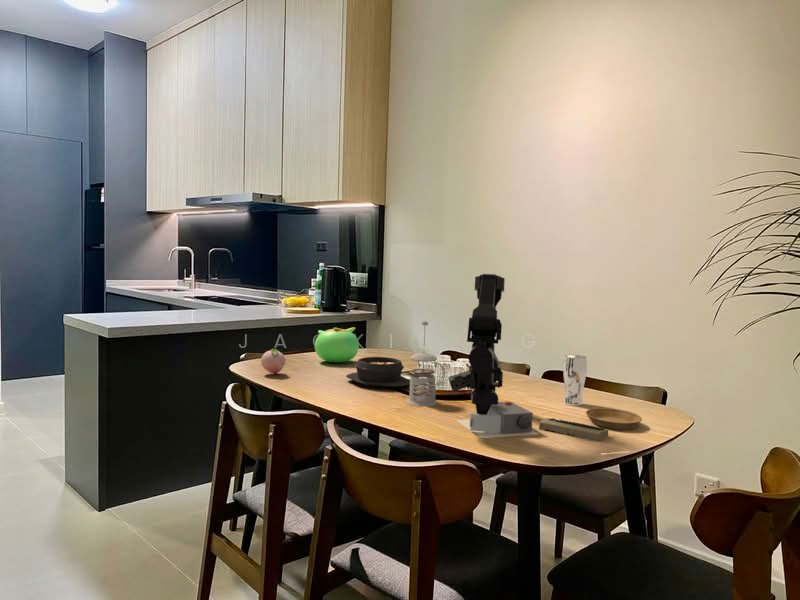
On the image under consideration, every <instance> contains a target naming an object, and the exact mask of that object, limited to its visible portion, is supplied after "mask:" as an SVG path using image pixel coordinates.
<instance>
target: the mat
mask: <svg viewBox="0 0 800 600" xmlns="http://www.w3.org/2000/svg"><path fill="white" fill-rule="evenodd" d="M470 419H471V418H470ZM470 419H457V420H456V422H458V423H459V424H461V425H462V426H464V427H465V428H467V429H468V430H469V431H470ZM471 432H472V433H474V434H476V436H478V437H479V438H481V439H489V438H502V437H504V438H505V437H516V436H519V437H521V436H532V435H534V436H535V435H539V433H538V432H537V431H534V430H533V429H532V432H524V433H509V434H503V433H496V432H483V431H471Z"/></svg>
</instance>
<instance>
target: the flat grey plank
mask: <svg viewBox="0 0 800 600" xmlns="http://www.w3.org/2000/svg"><path fill="white" fill-rule="evenodd" d="M538 430H540V431H549V432H554V433H555V434H559V435H564V436H570V437H575V438H580V439H585V440H588V441H593V442H598V443H599V442H601V441H602V440H604V439H607V438H608V436H609V429H608V428H605V427H601V426H594V425H590V424H584V423H579V422H575V421H573V422H572V421H568V420H564V419H563V420H562V419H556V418H554V417H553V418H549V417H548V418H544V419H541V420H540V421H539V427H538ZM606 437H607V438H606Z"/></svg>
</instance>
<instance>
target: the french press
mask: <svg viewBox="0 0 800 600" xmlns="http://www.w3.org/2000/svg"><path fill="white" fill-rule="evenodd" d="M421 325H422V326H429V323H428V321H427V320H424V321H422V322H421ZM423 333H424V334H423V335H424V337H423V346H425V345H426V344H425V343H426V341H425V339H426V328H424V332H423ZM410 360H411V361H415V362H420V363H422V368H413V369H412V370H411V371H410V372H411V373H412V374H410V375H409V377H410V378H409V379H410V384H409V398H407V400H405V401H406V403H407V404H408V405H411V406H416V407H432V406H433V407H434V406H437V405H438V404H439V403H438V401H437V400H436V390H437V387H439V386H441V385H442V383H443V382H444V380H445V377H446V371H445V368H444V366H443V365H442V364H441V363H439V362H437V357H436V356H435V355H433V354H431V353H428V352H425V351H422V352H417V353H415V354H412V355H411V356H410ZM427 362H428V363H429V362H430V363H431V362H434V368H437V365H438V366H440V368H441V371H442V374H441V375H442V376H441V377H440V380H439V381H438V382H437V383H436V377H437V376H436V375H434V374H436V373H435V370H434V369H429V368H425V366H424V365H425V363H427ZM423 377H424V378H423Z"/></svg>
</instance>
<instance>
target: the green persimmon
mask: <svg viewBox="0 0 800 600" xmlns="http://www.w3.org/2000/svg"><path fill="white" fill-rule="evenodd" d="M355 330H356V327H354V326H353V327H350V328H347V329H344V328H338V327H333V328H330V329H326V330H320V329H319V330H318V331H317V332H318V334H319V335H318V336H317V337H316V338H315V342H314V350H315V352H316V355H317V356H318V357H319V358H320V359H321V360H323V361H326V362H329V363H333V362H335V363H337V364H340V363H345V362H349V361H351V360H353V359H354V358H355V357H356V356H357V354H358V352H359V349H360V344H359V339H358V337H357V336H356V335H355V334H354V333H353V332H354V331H355Z"/></svg>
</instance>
